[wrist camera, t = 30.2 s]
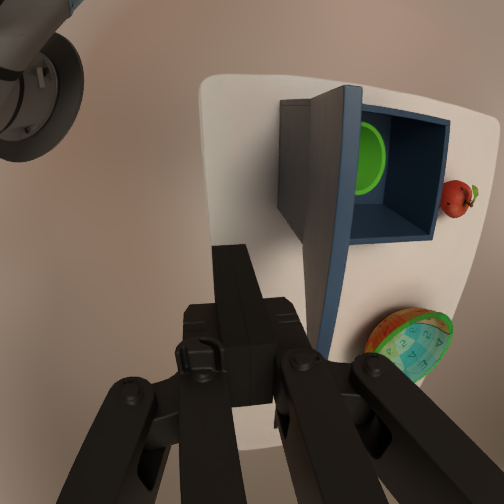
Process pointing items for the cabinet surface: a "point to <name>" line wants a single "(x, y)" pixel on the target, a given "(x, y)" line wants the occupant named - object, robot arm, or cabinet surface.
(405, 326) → the bowl
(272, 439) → the cabinet surface
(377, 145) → the cup
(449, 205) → the apple
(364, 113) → the box
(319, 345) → the lid
